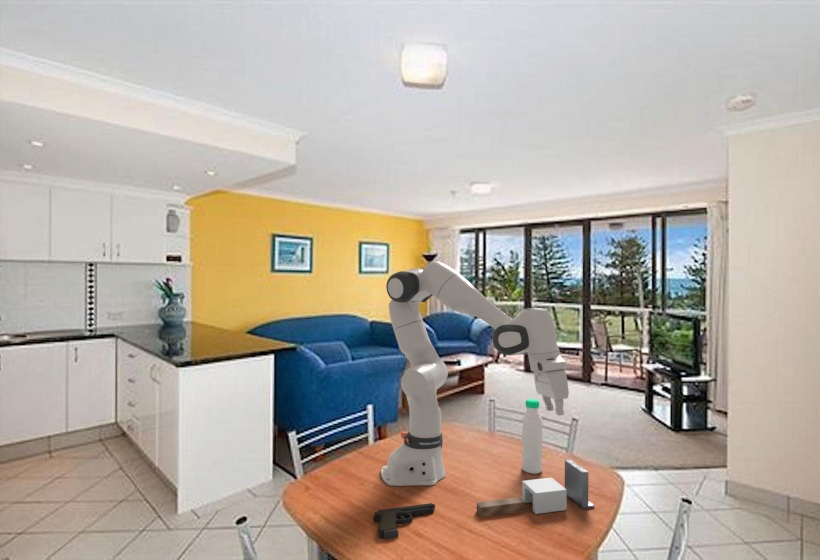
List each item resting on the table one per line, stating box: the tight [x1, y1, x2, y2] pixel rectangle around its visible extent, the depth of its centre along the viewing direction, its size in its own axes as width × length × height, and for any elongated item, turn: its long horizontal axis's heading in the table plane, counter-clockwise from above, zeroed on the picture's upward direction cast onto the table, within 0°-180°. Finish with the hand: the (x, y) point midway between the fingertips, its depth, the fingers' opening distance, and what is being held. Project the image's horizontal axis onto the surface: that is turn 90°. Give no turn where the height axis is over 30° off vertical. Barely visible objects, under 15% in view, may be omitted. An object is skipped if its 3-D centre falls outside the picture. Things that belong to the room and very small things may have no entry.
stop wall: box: [564, 459, 595, 511], centre depth 133 cm, size 4×9×11 cm, turn 14°
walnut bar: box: [476, 496, 526, 518], centre depth 127 cm, size 14×3×3 cm, turn 104°
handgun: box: [372, 502, 436, 540], centre depth 121 cm, size 3×19×12 cm
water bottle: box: [521, 398, 544, 475], centre depth 155 cm, size 7×7×25 cm
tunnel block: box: [521, 477, 567, 515], centre depth 130 cm, size 10×8×6 cm
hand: (554, 412), depth 122 cm, fingers open, 8 cm apart
